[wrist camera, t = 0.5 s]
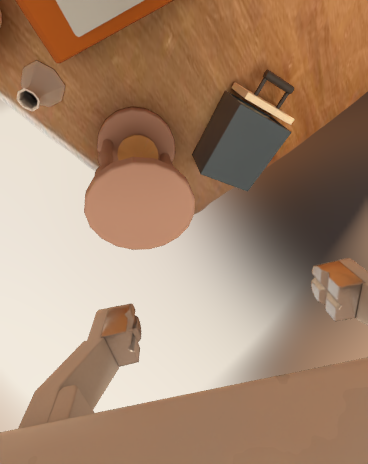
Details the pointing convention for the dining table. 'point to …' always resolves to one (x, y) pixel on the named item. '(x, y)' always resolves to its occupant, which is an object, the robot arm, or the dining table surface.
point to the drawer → (263, 103)
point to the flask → (39, 86)
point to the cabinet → (238, 143)
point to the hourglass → (138, 183)
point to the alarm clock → (82, 21)
